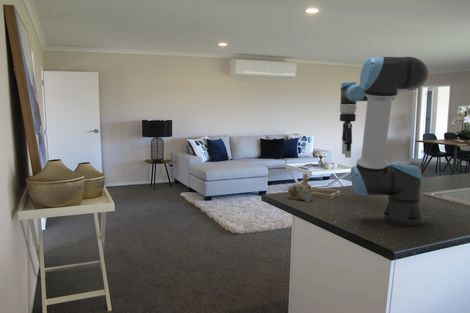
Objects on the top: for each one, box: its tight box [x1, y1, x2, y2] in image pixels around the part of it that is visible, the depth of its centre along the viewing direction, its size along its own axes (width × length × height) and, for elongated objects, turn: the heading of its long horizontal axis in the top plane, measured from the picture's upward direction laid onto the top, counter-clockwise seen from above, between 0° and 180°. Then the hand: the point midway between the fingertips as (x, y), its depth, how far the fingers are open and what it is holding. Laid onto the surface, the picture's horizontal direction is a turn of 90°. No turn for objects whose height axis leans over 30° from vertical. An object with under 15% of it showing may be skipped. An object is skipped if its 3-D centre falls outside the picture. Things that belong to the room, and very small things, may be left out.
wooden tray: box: [302, 173, 343, 200], centre depth 198 cm, size 13×17×11 cm
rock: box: [287, 181, 314, 203], centre depth 189 cm, size 12×7×10 cm, turn 46°
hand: (346, 155), depth 191 cm, fingers open, 13 cm apart
